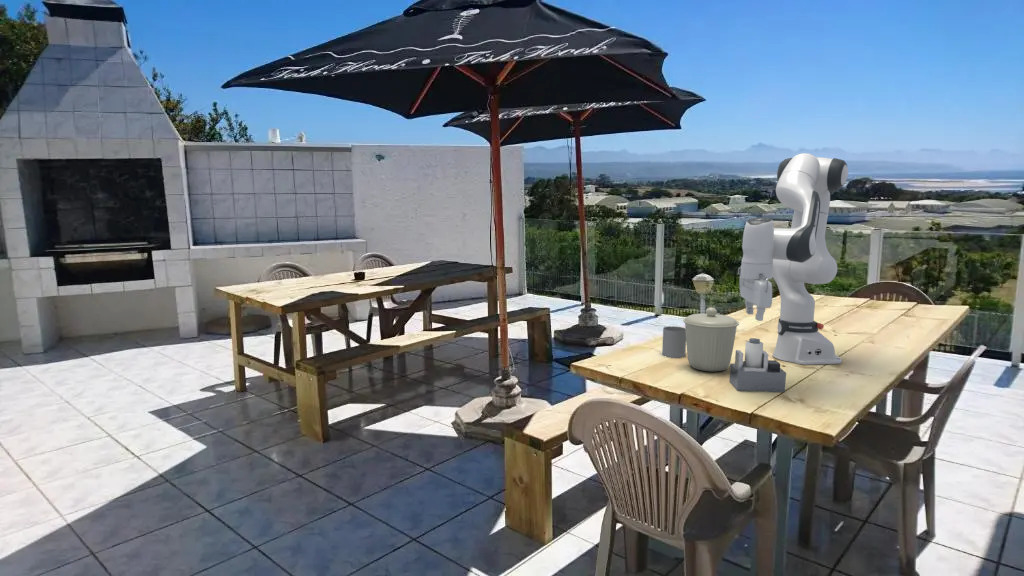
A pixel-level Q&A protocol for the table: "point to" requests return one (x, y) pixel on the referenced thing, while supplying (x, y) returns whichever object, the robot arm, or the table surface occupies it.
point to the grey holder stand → (757, 375)
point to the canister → (710, 340)
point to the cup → (674, 342)
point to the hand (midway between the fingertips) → (754, 317)
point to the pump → (753, 353)
